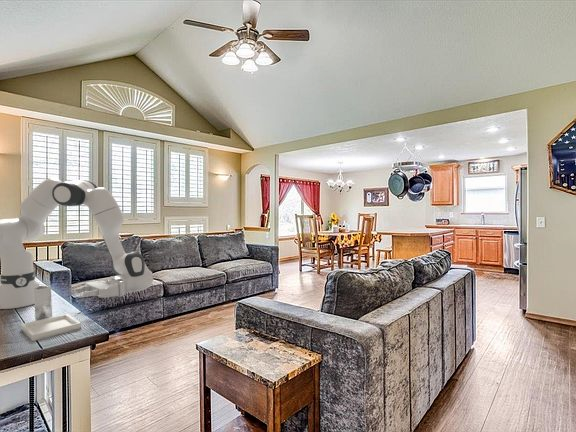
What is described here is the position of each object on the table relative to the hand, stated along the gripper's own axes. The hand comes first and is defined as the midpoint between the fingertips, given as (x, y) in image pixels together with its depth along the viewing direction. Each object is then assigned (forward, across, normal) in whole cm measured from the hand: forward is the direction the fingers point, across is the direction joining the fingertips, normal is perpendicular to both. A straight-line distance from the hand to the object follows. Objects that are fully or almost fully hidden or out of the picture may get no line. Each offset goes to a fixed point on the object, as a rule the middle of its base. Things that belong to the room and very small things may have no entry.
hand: (80, 292), depth 133 cm
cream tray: (+13, +12, +8) cm, 19 cm away
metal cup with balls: (+12, 0, +8) cm, 15 cm away
